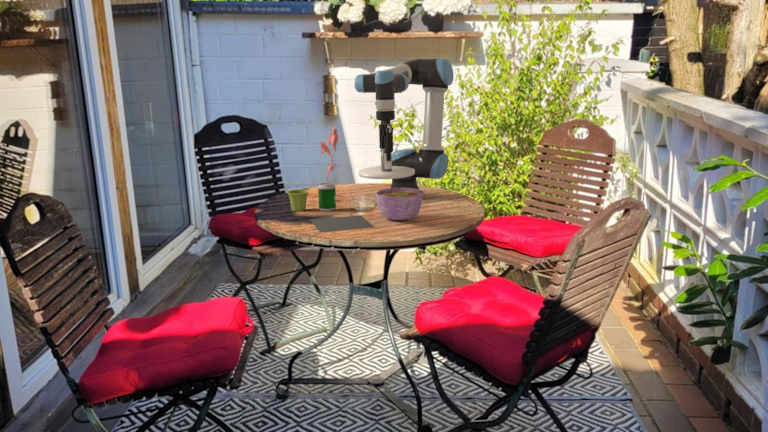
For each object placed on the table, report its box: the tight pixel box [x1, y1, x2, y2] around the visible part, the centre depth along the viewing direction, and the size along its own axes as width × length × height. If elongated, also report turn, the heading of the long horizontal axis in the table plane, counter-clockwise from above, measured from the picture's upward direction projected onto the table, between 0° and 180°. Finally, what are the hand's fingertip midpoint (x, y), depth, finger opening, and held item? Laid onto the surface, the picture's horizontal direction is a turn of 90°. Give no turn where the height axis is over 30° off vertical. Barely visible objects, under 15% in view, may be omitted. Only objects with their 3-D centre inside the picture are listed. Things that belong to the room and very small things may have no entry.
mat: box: [309, 214, 375, 233], centre depth 290 cm, size 22×22×1 cm
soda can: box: [317, 182, 337, 212], centre depth 313 cm, size 8×8×12 cm
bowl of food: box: [375, 188, 424, 222], centre depth 295 cm, size 20×20×12 cm
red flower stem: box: [319, 124, 348, 196], centre depth 336 cm, size 15×26×35 cm, turn 179°
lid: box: [358, 148, 415, 180], centre depth 289 cm, size 23×23×10 cm
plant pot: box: [286, 189, 309, 213], centre depth 315 cm, size 9×9×9 cm
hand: (386, 167), depth 290 cm, fingers closed on lid, 4 cm apart
